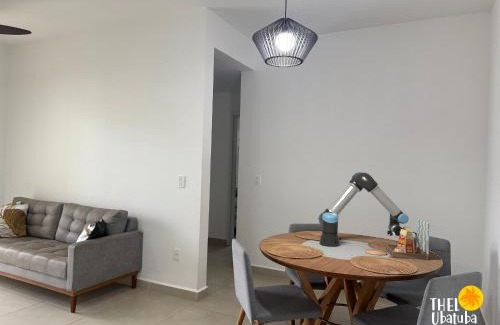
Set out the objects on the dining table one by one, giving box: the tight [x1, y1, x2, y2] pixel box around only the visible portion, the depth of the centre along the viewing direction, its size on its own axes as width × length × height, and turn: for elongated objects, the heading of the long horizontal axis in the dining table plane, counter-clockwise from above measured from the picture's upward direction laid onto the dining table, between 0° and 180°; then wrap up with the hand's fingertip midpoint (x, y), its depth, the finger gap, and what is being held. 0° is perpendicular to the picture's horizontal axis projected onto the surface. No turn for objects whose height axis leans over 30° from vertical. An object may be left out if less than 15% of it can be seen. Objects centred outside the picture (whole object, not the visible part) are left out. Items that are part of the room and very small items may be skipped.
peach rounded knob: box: [393, 248, 402, 252], centre depth 234 cm, size 5×5×5 cm
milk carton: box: [396, 225, 415, 253], centre depth 240 cm, size 9×9×20 cm
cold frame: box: [384, 218, 430, 261], centre depth 240 cm, size 25×22×24 cm
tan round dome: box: [364, 248, 388, 256], centre depth 242 cm, size 15×15×1 cm
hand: (404, 235), depth 245 cm, fingers open, 13 cm apart
